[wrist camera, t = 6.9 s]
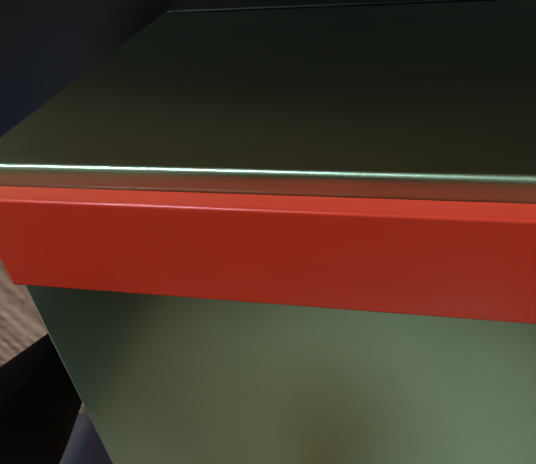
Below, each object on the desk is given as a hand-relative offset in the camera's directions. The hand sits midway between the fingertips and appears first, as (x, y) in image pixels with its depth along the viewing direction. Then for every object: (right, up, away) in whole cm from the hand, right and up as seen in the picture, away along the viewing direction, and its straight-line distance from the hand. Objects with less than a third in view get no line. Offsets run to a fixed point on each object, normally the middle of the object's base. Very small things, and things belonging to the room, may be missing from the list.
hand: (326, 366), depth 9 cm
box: (+1, +2, +2) cm, 3 cm away
